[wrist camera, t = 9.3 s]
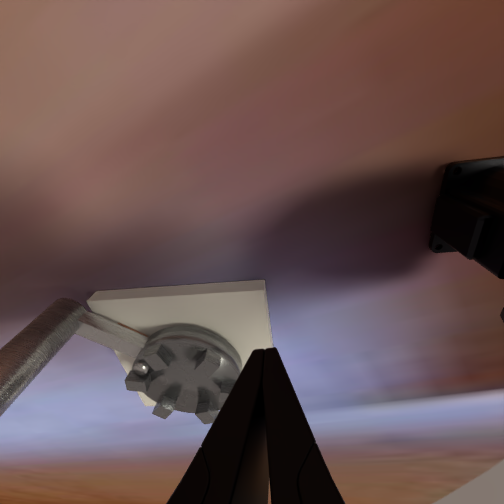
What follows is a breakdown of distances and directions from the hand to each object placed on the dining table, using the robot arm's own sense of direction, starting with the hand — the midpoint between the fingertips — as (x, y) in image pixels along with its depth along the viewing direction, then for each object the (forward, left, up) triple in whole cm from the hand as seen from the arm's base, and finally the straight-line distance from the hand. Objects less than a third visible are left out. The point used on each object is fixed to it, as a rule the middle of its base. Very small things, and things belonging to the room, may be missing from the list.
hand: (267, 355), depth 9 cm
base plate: (+9, +13, -12) cm, 20 cm away
